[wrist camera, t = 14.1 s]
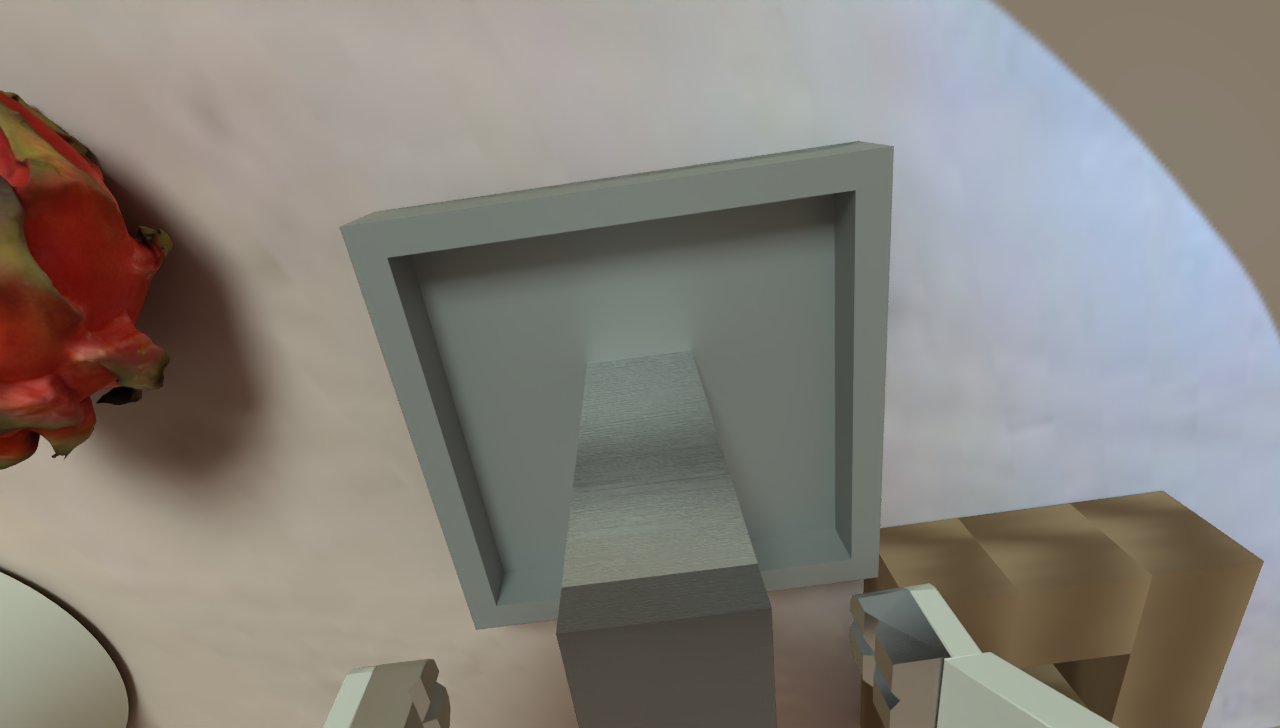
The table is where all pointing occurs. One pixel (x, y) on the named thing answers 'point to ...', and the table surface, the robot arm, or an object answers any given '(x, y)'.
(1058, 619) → the hitch block
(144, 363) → the dragon fruit
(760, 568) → the tray
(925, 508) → the table surface
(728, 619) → the metal pin
